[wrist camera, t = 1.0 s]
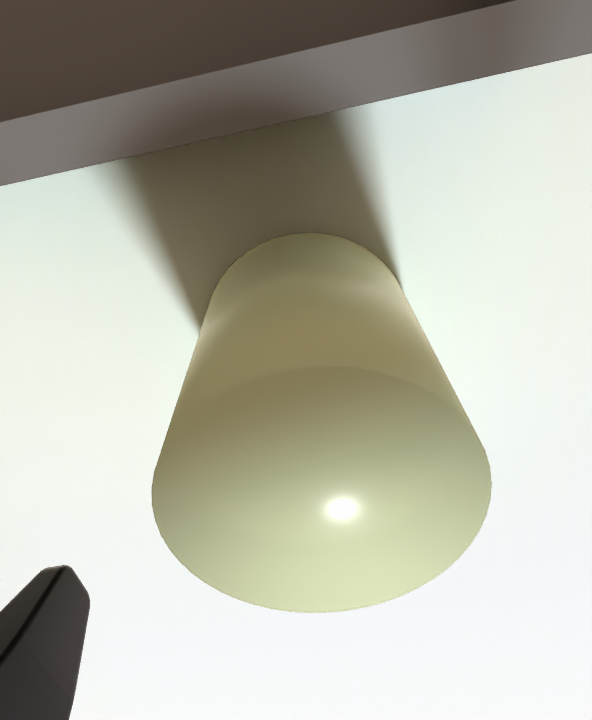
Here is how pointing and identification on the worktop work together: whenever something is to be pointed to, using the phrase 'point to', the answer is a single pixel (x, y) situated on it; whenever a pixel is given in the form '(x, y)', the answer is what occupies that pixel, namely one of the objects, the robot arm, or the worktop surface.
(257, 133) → the worktop surface
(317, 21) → the serving bin
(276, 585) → the salad tub
